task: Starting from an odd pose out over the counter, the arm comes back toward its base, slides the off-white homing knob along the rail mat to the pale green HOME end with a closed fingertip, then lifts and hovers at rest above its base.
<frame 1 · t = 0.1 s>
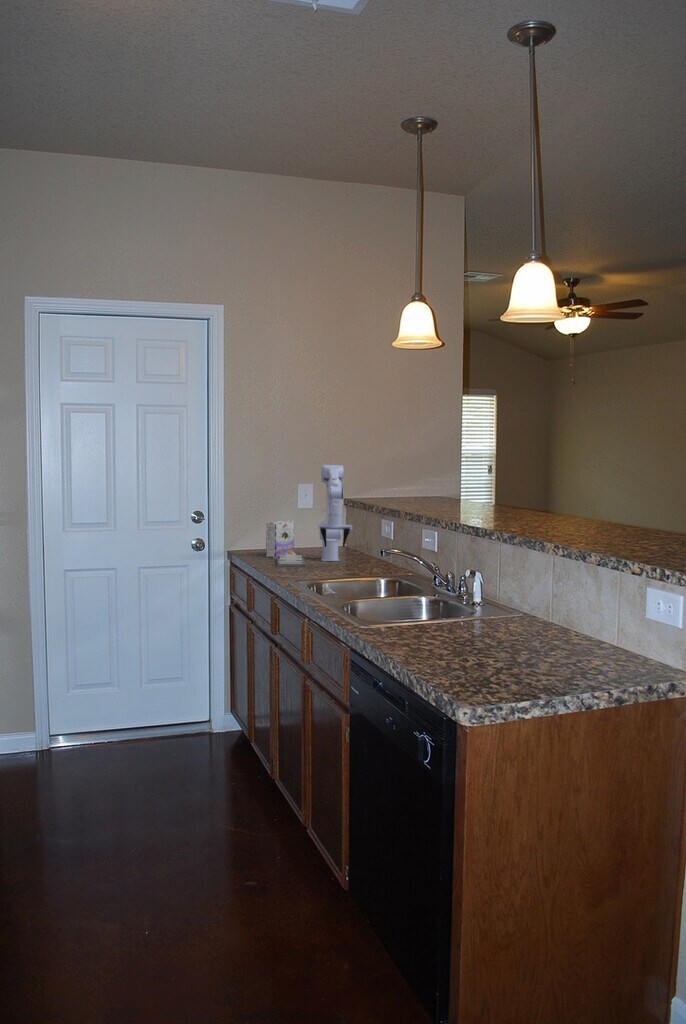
hand: (334, 546, 336), 10 cm above the countertop, tool pointing down, fingers open, 7 cm apart
rail mat: (290, 563, 354), on the countertop
candy box: (280, 556, 374), on the countertop
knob: (290, 557, 348), point 3 cm above the countertop, slide at 0.0 cm
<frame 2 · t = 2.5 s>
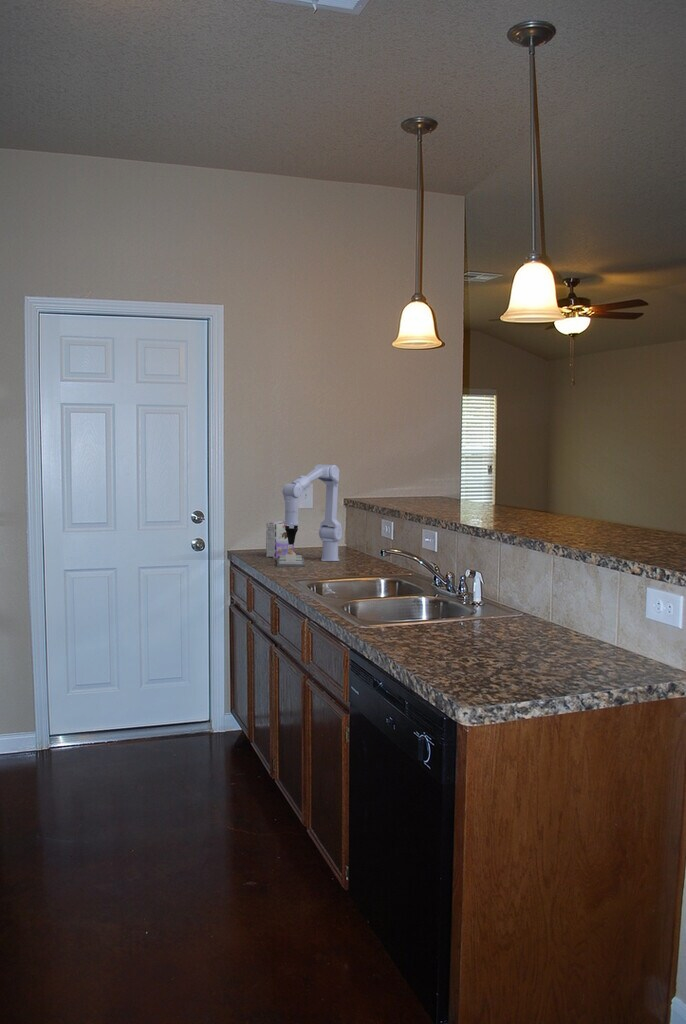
hand: (291, 543, 341), 10 cm above the countertop, tool pointing down, fingers open, 6 cm apart
nothing on the countertop moved.
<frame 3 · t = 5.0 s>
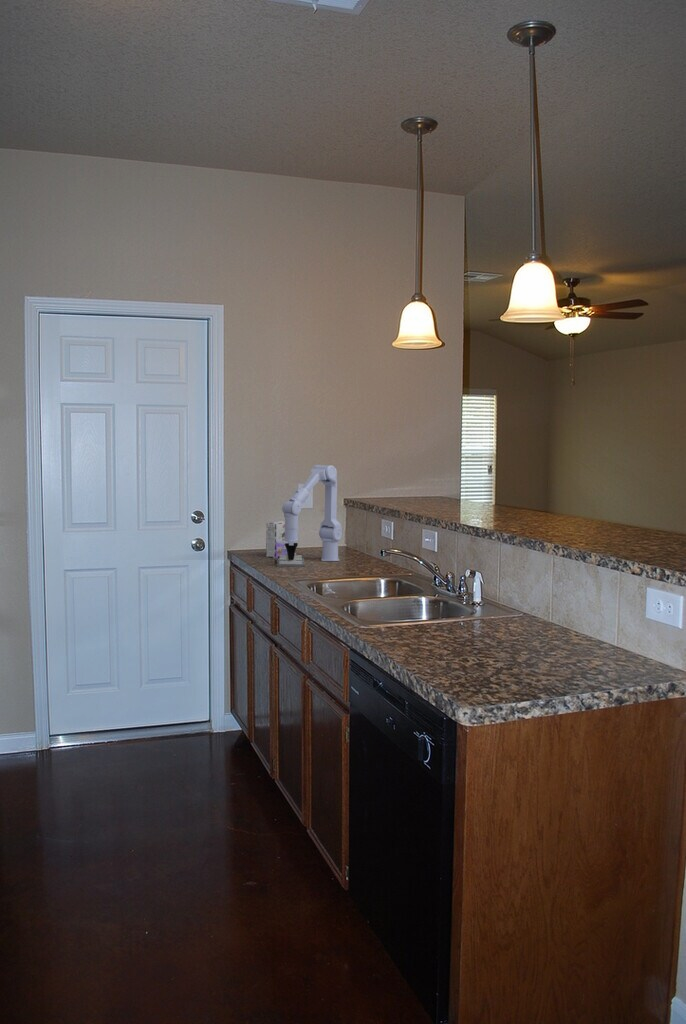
hand: (291, 559, 346), 3 cm above the countertop, tool pointing down, fingers closed
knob: (290, 556, 349), point 3 cm above the countertop, slide at 0.7 cm, touching gripper
everything else where it was.
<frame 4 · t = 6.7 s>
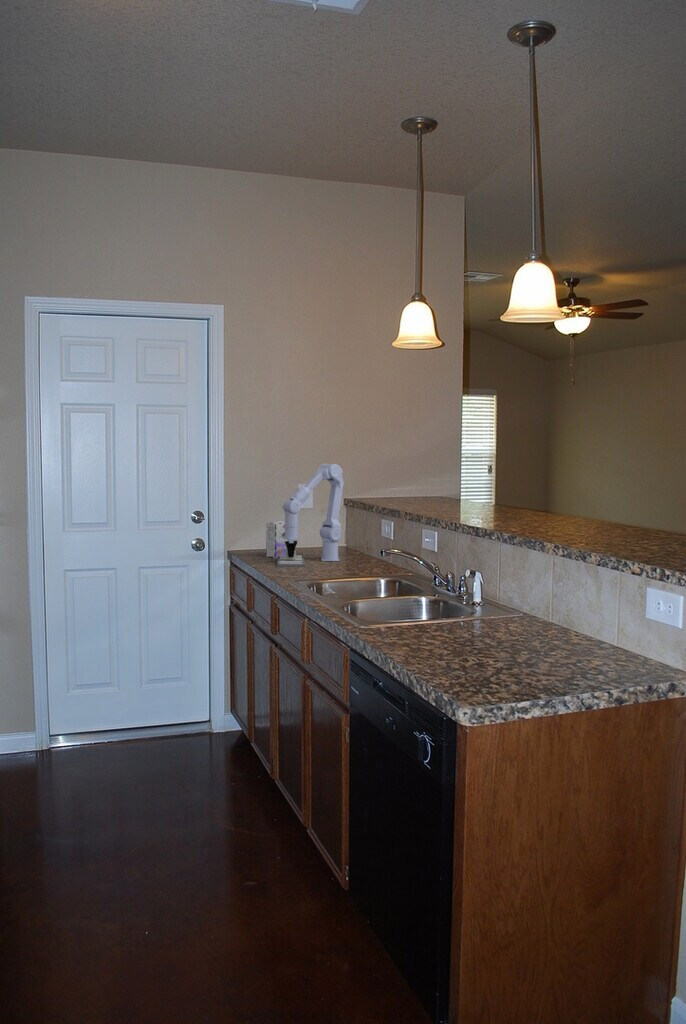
hand: (290, 557, 353), 3 cm above the countertop, tool pointing down, fingers closed
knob: (290, 554, 356), point 3 cm above the countertop, slide at 8.2 cm, touching gripper
everything else where it was.
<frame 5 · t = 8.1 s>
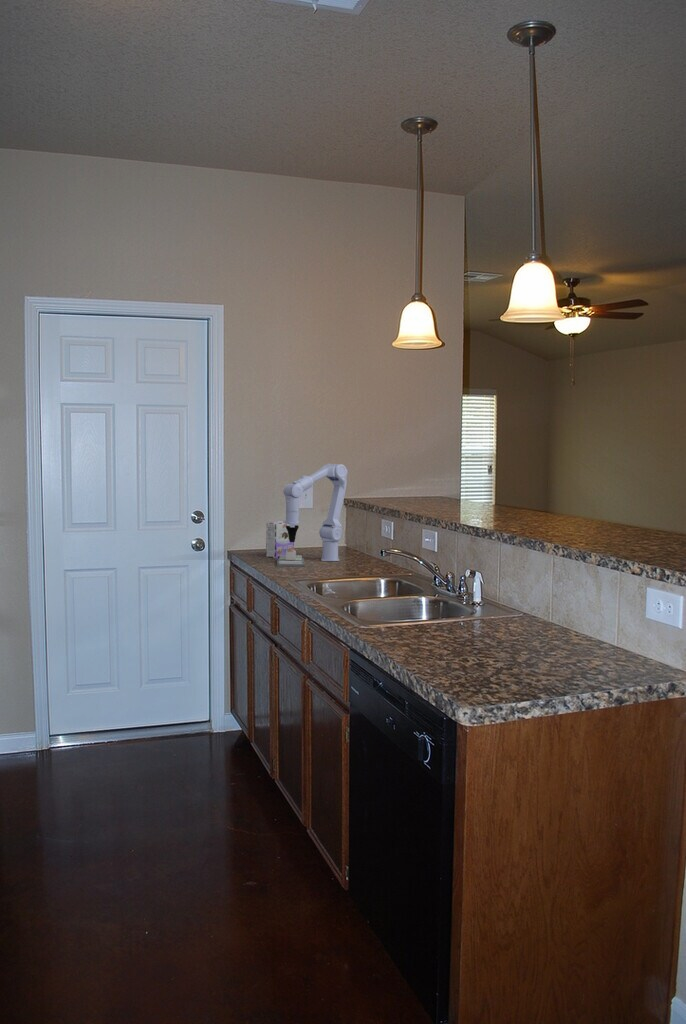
hand: (292, 542, 350), 10 cm above the countertop, tool pointing down, fingers closed
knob: (290, 554, 356), point 3 cm above the countertop, slide at 8.2 cm
everything else where it was.
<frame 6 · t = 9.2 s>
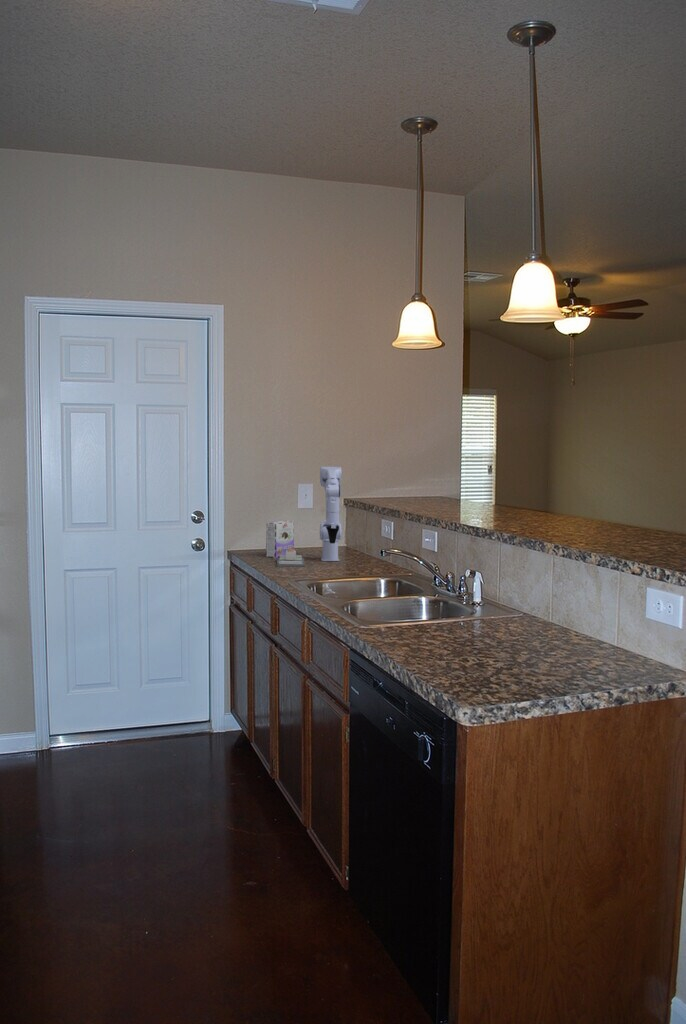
hand: (332, 543, 349), 10 cm above the countertop, tool pointing down, fingers closed
nothing on the countertop moved.
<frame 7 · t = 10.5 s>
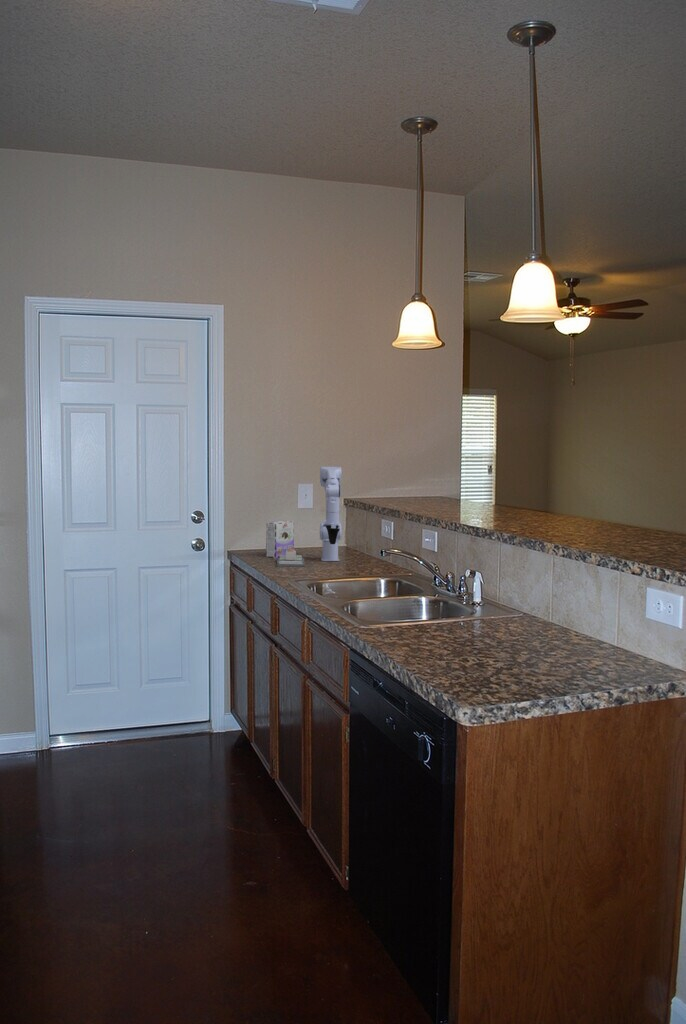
hand: (332, 543, 349), 10 cm above the countertop, tool pointing down, fingers open, 7 cm apart
nothing on the countertop moved.
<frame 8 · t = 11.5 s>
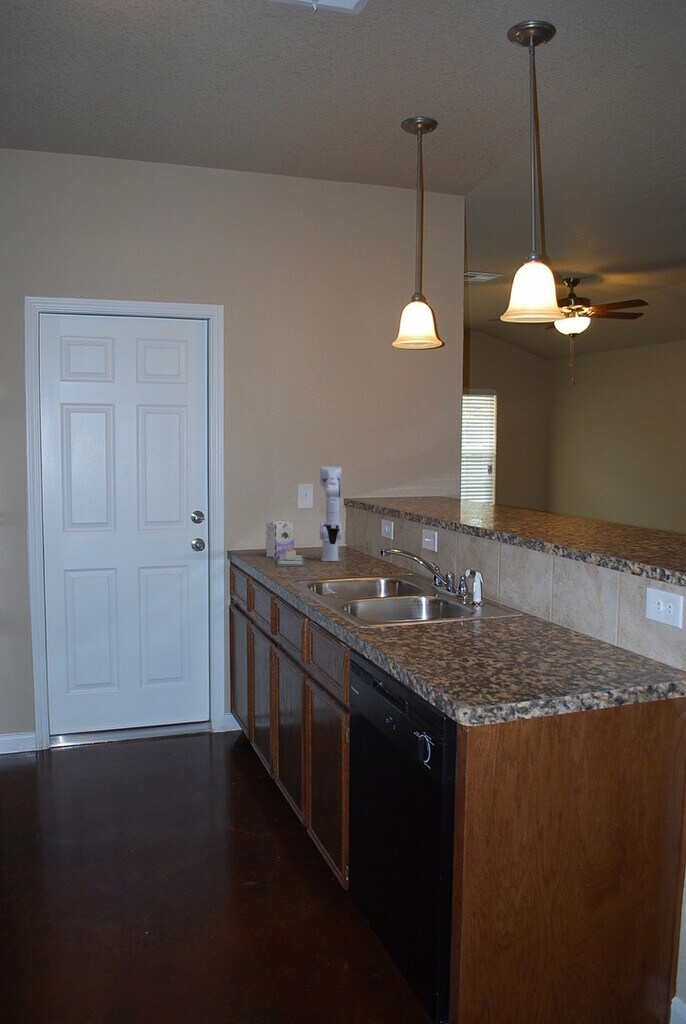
hand: (332, 543, 349), 10 cm above the countertop, tool pointing down, fingers open, 7 cm apart
nothing on the countertop moved.
at the end: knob slide at 8.2 cm; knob touching nothing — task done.
